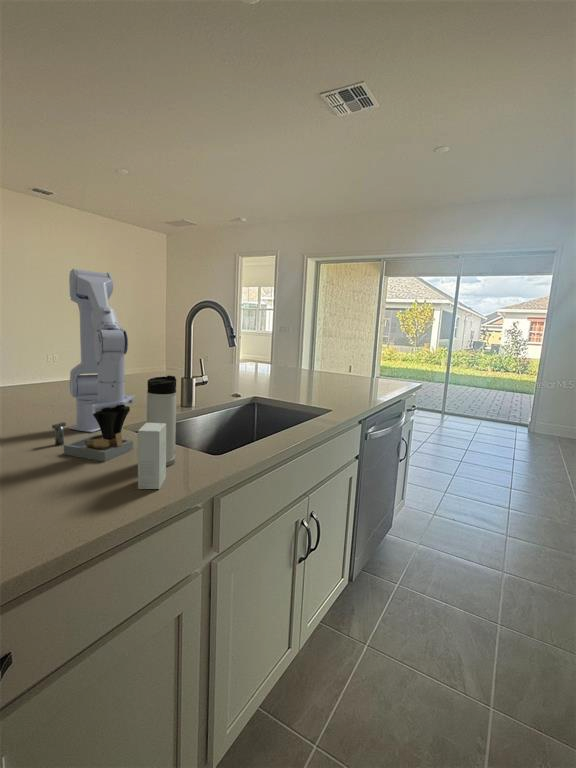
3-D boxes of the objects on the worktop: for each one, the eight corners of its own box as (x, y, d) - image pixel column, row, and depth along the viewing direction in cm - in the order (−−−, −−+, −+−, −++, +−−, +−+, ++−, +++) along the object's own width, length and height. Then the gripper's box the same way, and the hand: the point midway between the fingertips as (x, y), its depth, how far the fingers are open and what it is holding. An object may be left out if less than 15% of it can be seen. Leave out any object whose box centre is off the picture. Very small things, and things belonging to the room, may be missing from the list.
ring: (100, 443, 99) (98, 432, 99) (129, 441, 97) (126, 429, 96) (80, 451, 93) (78, 439, 93) (110, 449, 91) (108, 437, 90)
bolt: (61, 442, 100) (61, 422, 100) (67, 443, 100) (67, 422, 99) (51, 445, 97) (50, 424, 96) (57, 446, 97) (56, 425, 96)
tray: (95, 442, 102) (95, 434, 101) (133, 448, 99) (133, 440, 99) (64, 454, 92) (63, 445, 92) (105, 461, 89) (104, 452, 89)
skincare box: (145, 477, 82) (145, 422, 80) (166, 478, 83) (167, 422, 81) (136, 490, 76) (137, 430, 74) (159, 490, 77) (160, 431, 75)
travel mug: (181, 460, 93) (183, 377, 90) (161, 469, 87) (163, 380, 84) (161, 455, 96) (162, 374, 92) (140, 463, 90) (141, 376, 86)
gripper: (103, 387, 84) (104, 448, 86) (145, 379, 98) (144, 432, 100) (76, 383, 86) (77, 444, 88) (120, 376, 100) (121, 428, 102)
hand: (111, 437), depth 94 cm, fingers closed on ring, 2 cm apart
